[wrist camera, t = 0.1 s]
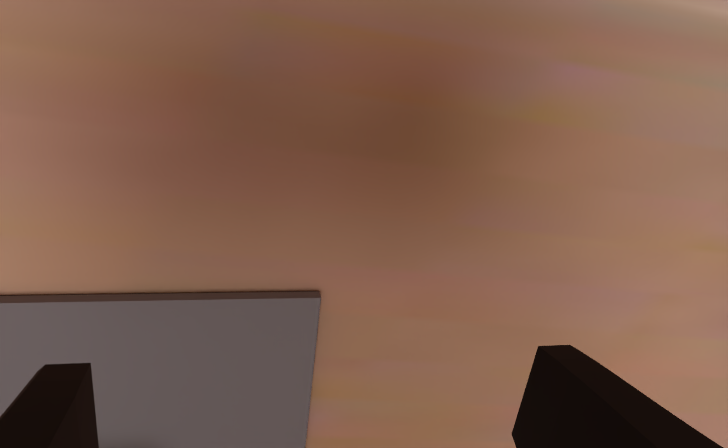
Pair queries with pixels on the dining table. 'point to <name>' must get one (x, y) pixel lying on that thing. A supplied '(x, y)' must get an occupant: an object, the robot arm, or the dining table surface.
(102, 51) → the dining table surface
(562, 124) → the dining table surface
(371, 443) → the dining table surface
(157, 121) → the dining table surface
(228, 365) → the mat
